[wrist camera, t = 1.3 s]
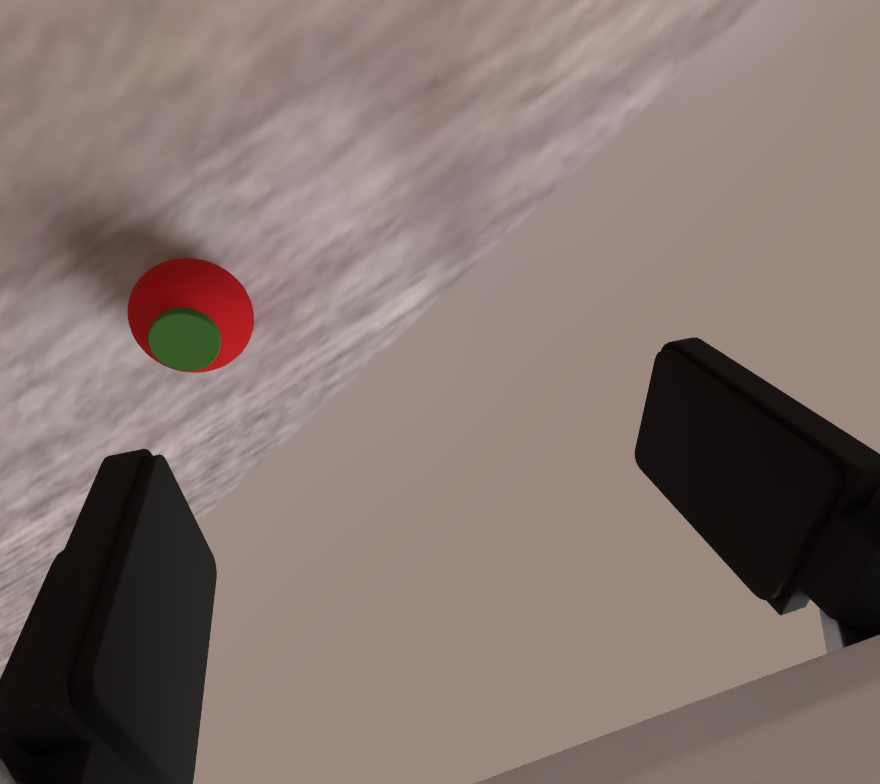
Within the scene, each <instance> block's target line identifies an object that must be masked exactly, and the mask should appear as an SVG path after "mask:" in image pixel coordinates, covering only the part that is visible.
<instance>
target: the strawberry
mask: <svg viewBox="0 0 880 784" xmlns="http://www.w3.org/2000/svg"><path fill="white" fill-rule="evenodd" d="M128 321H129V325H130V328H131V331H132V334H133V336H134V338H135V340H136V341H137V343H138V344H139V346H140V347H141V348H142V349H143V350H144V351H145V352H146V353H147V354H148V355H149V356H150V357H151V358H153V359H154V360H155V361H157V362H159V363H160V364H162V365H164V366H167V367H169V368H172V369H175V370H178V371H183V372H206V371H211V370H215V369H218V368H220V367H223V366H225V365H227V364H228V363H230V362H231V361H233V360H234V359H235V358H236V357H237V356H239V355H240V353H241V352H242V351H243V350H244V348H245V347H246V345H247V344H248V342H249V340H250V337H251V334H252V330H253V325H254V314H253V308H252V304H251V301H250V298H249V296H248V294H247V292H246V290H245V289H244V287H243V286H242V285H241V283H240V282H239V281H238V280H237V279H236V278H235V277H234V276H233V275H232V274H230V273H229V272H228V271H226V270H225V269H223V268H221V267H219V266H218V265H215V264H213V263H211V262H207V261H204V260H199V259H191V258H180V259H173V260H169V261H166V262H163V263H161V264H158V265H156V266H154V267H153V268H151V269H150V270H148V271H147V272H146V273H145V274H144V275H143V276H142V277H141V278H140V279H139V280H138V281H137V283H136V284H135V286H134V288H133V290H132V292H131V295H130V298H129V302H128Z"/></svg>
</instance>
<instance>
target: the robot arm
mask: <svg viewBox="0 0 880 784" xmlns="http://www.w3.org/2000/svg"><path fill="white" fill-rule="evenodd" d="M635 459H636V463H637V465H638V466H639V468H640V469H641V470H642V471H643V473H644V474H645V475H646V476H647V477H648V478H649V479H650V480H651V481H652V482H653V483H654V485H655V486H656V487H657V488H658V489H659V490H660V491H661V492H662V493H663V495H664V496H665V497H666V498H667V499H668V500H669V501H670V502H671V503H672V504H673V506H674V507H675V508H676V509H677V510H678V511H679V512H680V513H681V514H682V515H683V517H684V518H685V519H686V520H687V521H688V522H689V523H690V524H691V525H692V526H693V528H694V529H695V530H696V531H697V532H698V533H699V534H700V535H701V536H702V538H704V540H705V541H706V542H707V543H708V544H709V545H710V546H711V547H712V548H713V550H714V551H715V552H716V553H717V554H718V555H719V556H720V557H721V558H722V560H723V561H724V562H725V563H726V564H727V565H728V566H729V567H730V568H731V569H732V570H733V572H734V573H735V574H736V575H737V576H738V577H739V578H740V579H741V580H742V582H743V583H744V584H745V585H746V586H747V587H748V588H749V589H750V590H751V591H752V592H753V593H754V594H755V595H756V596H757V597H759V598H760V599H763V600H766V601H767V602H768V603H769V604H770V605H771V606H772V607H773V608H774V609H775V610H776V611H777V613H778V614H779V615H783V614H786V613H789V612H792V611H795V610H798V609H801V608H804V607H806V605H807V603H808V602H809V600H810V599H811V600H812V601H813V602H814V603H815V604H816V605H817V606H818V607H819V608H820V616H821V621H822V627H823V633H824V638H825V644H826V649H827V654H825V655H823V656H820V657H817V658H815V659H812V660H809V661H806V662H804V663H801V664H798V665H795V666H792V667H790V668H787V669H784V670H781V671H779V672H776V673H773V674H770V675H767V676H765V677H762V678H759V679H757V680H754V681H751V682H748V683H745V684H743V685H740V686H737V687H734V688H732V689H729V690H726V691H724V692H721V693H718V694H715V695H713V696H710V697H707V698H705V699H702V700H699V701H696V702H694V703H691V704H688V705H685V706H683V707H680V708H677V709H675V710H672V711H670V712H666V713H664V714H661V715H658V716H656V717H653V718H650V719H647V720H645V721H642V722H640V723H637V724H634V725H631V726H629V727H626V728H623V729H621V730H618V731H615V732H612V733H610V734H607V735H604V736H601V737H599V738H596V739H593V740H590V741H588V742H585V743H582V744H580V745H577V746H574V747H572V748H569V749H566V750H563V751H561V752H558V753H555V754H553V755H550V756H547V757H544V758H542V759H539V760H536V761H534V762H531V763H528V764H526V765H523V766H520V767H518V768H515V769H512V770H510V771H507V772H504V773H502V774H499V775H496V776H494V777H491V778H488V779H486V780H483V781H480V782H478V783H475V784H880V454H879V453H877V452H876V451H874V450H873V449H871V448H869V447H868V446H866V445H865V444H863V443H862V442H860V441H858V440H857V439H856V438H854V437H852V436H851V435H849V434H848V433H846V432H845V431H843V430H841V429H840V428H838V427H837V426H835V425H834V424H832V423H831V422H829V421H827V420H826V419H824V418H823V417H821V416H819V415H818V414H816V413H815V412H813V411H812V410H810V409H808V408H807V407H805V406H804V405H802V404H801V403H799V402H798V401H796V400H795V399H793V398H791V397H790V396H788V395H787V394H785V393H783V392H782V391H781V390H779V389H777V388H776V387H774V386H773V385H771V384H770V383H768V382H766V381H765V380H763V379H762V378H760V377H759V376H757V375H756V374H754V373H752V372H751V371H749V370H748V369H746V368H745V367H743V366H741V365H740V364H738V363H737V362H735V361H734V360H732V359H731V358H729V357H727V356H726V355H724V354H723V353H721V352H720V351H718V350H717V349H715V348H713V347H712V346H710V345H709V344H707V343H706V342H704V341H702V340H701V339H698V338H688V339H683V340H678V341H673V342H669V343H667V344H665V345H664V346H663V348H662V350H661V352H659V353H658V354H657V355H656V358H655V361H654V366H653V371H652V375H651V380H650V384H649V389H648V393H647V398H646V403H645V407H644V412H643V416H642V421H641V425H640V430H639V435H638V439H637V443H636V448H635ZM216 575H217V572H216V563H215V559H214V557H213V554H212V552H211V550H210V548H209V546H208V544H207V542H206V540H205V538H204V536H203V534H202V532H201V530H200V528H199V526H198V524H197V522H196V520H195V518H194V516H193V514H192V512H191V509H190V507H189V505H188V503H187V501H186V499H185V497H184V495H183V493H182V491H181V489H180V487H179V485H178V483H177V481H176V479H175V477H174V475H173V473H172V471H171V469H170V467H169V465H168V463H167V461H166V459H165V458H164V457H163V456H162V455H155V456H153V455H152V454H151V452H150V451H148V450H147V449H141V450H136V451H131V452H126V453H121V454H116V455H111V456H108V457H106V458H105V459H104V460H103V462H102V464H101V466H100V469H99V471H98V473H97V475H96V478H95V480H94V482H93V485H92V487H91V489H90V491H89V494H88V496H87V498H86V501H85V503H84V505H83V508H82V510H81V512H80V514H79V517H78V519H77V521H76V524H75V526H74V528H73V531H72V533H71V535H70V537H69V540H68V542H67V544H66V547H65V549H64V550H63V551H61V552H60V553H59V554H58V555H57V556H56V558H55V559H54V561H53V563H52V565H51V567H50V569H49V571H48V574H47V576H46V578H45V580H44V582H43V585H42V587H41V589H40V591H39V594H38V596H37V598H36V600H35V603H34V605H33V607H32V609H31V611H30V614H29V616H28V618H27V620H26V623H25V625H24V627H23V629H22V632H21V634H20V636H19V638H18V641H17V643H16V645H15V647H14V649H13V652H12V654H11V656H10V658H9V661H8V663H7V665H6V667H5V670H4V672H3V674H2V676H1V678H0V784H193V778H194V772H195V763H196V753H197V745H198V736H199V728H200V719H201V710H202V701H203V692H204V683H205V674H206V666H207V657H208V648H209V640H210V630H211V622H212V613H213V604H214V595H215V587H216Z"/></svg>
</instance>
